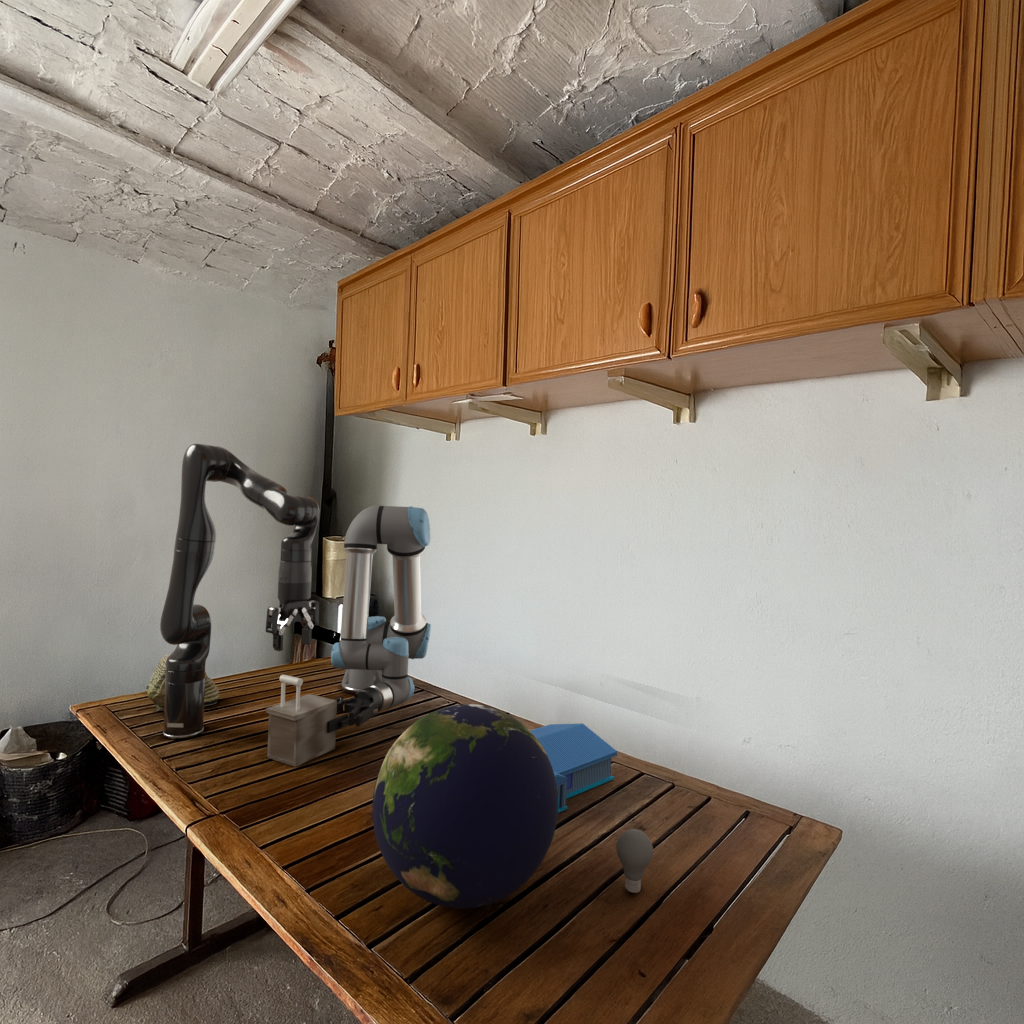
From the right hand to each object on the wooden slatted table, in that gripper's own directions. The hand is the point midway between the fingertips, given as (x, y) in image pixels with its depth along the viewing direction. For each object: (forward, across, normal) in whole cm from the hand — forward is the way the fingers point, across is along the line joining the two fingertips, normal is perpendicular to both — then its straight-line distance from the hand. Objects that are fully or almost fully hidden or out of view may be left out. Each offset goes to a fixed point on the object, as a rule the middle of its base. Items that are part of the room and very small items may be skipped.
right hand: (313, 723), depth 158 cm
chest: (+3, 0, -6) cm, 7 cm away
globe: (+29, -63, -6) cm, 70 cm away
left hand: (+8, 0, +20) cm, 22 cm away
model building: (-11, -55, -6) cm, 57 cm away
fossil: (-2, +53, -6) cm, 53 cm away
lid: (+4, 0, +5) cm, 6 cm away
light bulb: (+14, -87, -6) cm, 88 cm away
